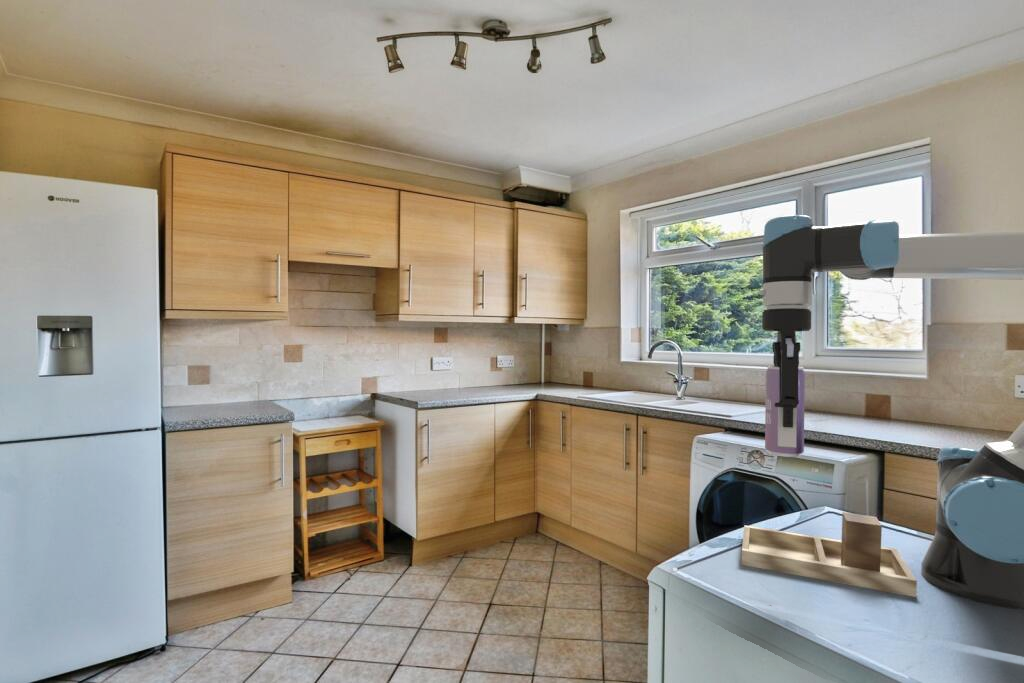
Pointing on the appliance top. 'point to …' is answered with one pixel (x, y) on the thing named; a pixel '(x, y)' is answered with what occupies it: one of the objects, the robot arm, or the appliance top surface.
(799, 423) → the beverage can
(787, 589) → the appliance top surface
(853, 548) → the walnut block
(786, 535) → the rack
